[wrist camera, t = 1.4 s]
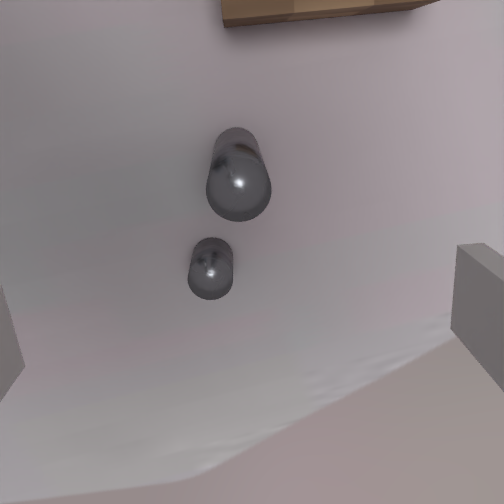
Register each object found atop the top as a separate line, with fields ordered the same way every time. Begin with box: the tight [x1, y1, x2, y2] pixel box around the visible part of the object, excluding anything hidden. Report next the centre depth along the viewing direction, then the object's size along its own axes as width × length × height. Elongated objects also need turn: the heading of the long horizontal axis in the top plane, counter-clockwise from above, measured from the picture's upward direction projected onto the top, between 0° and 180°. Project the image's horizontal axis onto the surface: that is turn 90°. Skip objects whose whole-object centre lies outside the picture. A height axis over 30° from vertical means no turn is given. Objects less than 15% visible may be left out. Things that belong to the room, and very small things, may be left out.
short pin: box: [188, 237, 233, 300], centre depth 40 cm, size 4×4×5 cm
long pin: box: [206, 128, 271, 222], centre depth 32 cm, size 4×4×14 cm
